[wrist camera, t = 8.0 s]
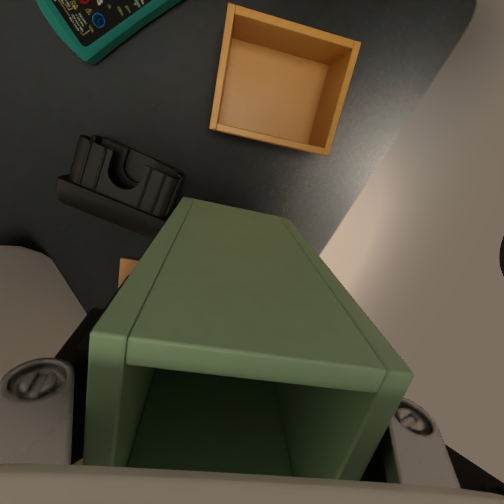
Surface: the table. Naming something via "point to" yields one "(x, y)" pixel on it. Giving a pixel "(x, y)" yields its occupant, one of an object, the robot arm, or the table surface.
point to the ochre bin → (281, 81)
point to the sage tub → (237, 357)
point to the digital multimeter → (99, 22)
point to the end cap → (120, 185)
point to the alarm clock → (33, 307)
